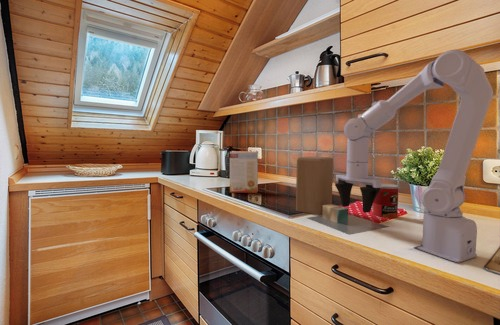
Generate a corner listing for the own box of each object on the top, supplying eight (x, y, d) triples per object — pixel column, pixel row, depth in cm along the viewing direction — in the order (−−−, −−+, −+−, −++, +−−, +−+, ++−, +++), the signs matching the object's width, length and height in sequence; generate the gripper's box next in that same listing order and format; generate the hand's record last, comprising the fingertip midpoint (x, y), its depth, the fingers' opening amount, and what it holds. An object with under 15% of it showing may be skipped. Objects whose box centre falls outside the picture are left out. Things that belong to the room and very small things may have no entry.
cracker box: (257, 191, 142) (258, 151, 140) (256, 193, 136) (257, 151, 134) (231, 190, 143) (231, 151, 142) (229, 192, 137) (229, 151, 136)
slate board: (389, 229, 79) (389, 226, 79) (349, 237, 72) (349, 234, 71) (342, 214, 95) (342, 212, 95) (306, 220, 88) (306, 217, 88)
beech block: (348, 208, 83) (332, 204, 89) (338, 210, 81) (322, 205, 88) (347, 221, 84) (331, 216, 90) (338, 223, 82) (322, 217, 88)
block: (307, 208, 105) (308, 156, 104) (332, 212, 99) (334, 157, 97) (294, 212, 97) (295, 157, 96) (320, 217, 91) (322, 158, 90)
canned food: (383, 220, 88) (385, 187, 87) (366, 214, 95) (367, 183, 94) (402, 219, 90) (404, 186, 89) (384, 213, 97) (385, 183, 97)
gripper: (389, 163, 73) (387, 213, 73) (348, 160, 85) (346, 202, 86) (371, 164, 69) (369, 216, 70) (331, 160, 82) (329, 204, 83)
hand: (355, 209), depth 78 cm, fingers open, 7 cm apart
